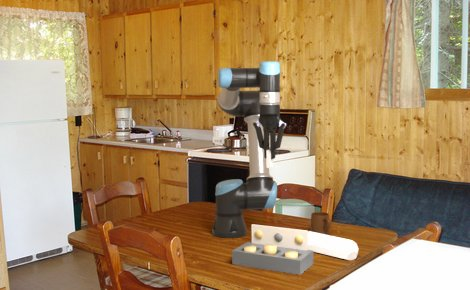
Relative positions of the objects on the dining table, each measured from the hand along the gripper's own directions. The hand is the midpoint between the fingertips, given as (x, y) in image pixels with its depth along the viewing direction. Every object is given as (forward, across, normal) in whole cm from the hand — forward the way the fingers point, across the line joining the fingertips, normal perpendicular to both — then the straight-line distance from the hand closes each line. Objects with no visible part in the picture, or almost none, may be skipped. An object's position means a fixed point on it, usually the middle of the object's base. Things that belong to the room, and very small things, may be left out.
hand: (269, 167), depth 200 cm
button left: (+32, -2, -12) cm, 34 cm away
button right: (+31, +14, -12) cm, 36 cm away
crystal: (+34, +20, +11) cm, 41 cm away
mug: (+34, +10, +33) cm, 48 cm away
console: (+33, +6, -10) cm, 35 cm away
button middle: (+30, +6, -12) cm, 33 cm away
